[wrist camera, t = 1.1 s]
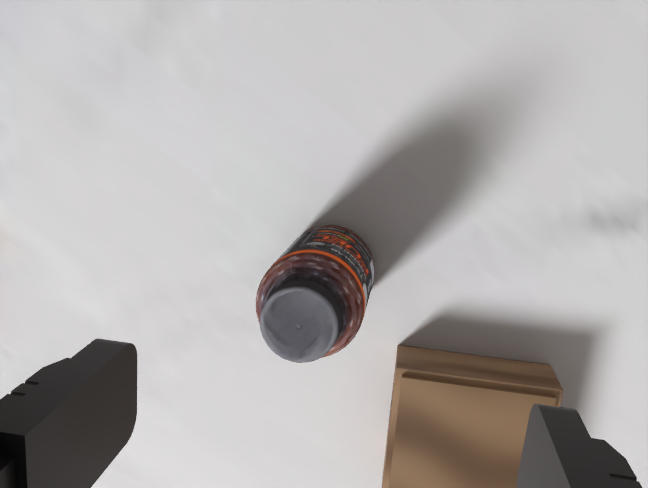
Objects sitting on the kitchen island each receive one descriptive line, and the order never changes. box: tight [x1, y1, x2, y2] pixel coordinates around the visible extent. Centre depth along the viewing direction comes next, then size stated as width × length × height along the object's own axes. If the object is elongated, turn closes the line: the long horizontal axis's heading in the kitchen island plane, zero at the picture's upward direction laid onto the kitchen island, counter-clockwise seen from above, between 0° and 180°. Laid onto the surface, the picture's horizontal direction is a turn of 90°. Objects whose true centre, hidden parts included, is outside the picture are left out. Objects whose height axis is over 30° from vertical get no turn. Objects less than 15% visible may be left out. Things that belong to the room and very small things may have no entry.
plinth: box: [382, 345, 563, 488], centre depth 40 cm, size 10×10×4 cm
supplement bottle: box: [256, 225, 374, 363], centre depth 35 cm, size 6×6×11 cm
